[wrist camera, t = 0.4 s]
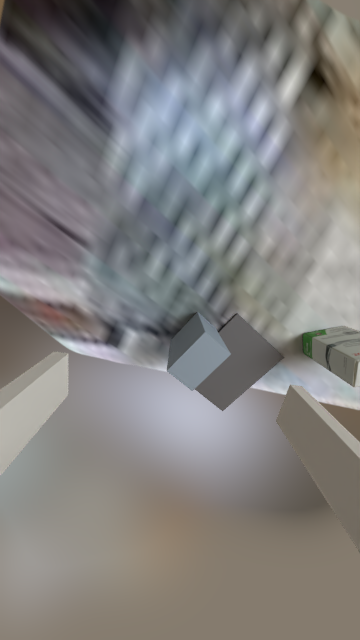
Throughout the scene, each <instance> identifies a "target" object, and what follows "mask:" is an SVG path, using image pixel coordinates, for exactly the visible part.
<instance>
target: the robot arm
mask: <svg viewBox="0 0 360 640" xmlns="http://www.w3.org/2000/svg"><path fill="white" fill-rule="evenodd" d="M67 395H68V353H62V352H53V353H51V354H50V355H49V356H47V357H46V358H44V359H43V360H42V361H40V362H39V363H38V364H36V365H35V366H33V367H32V368H31V369H29V370H28V371H26V372H25V373H23V374H22V375H20V376H19V377H18V378H16V379H15V380H13V381H12V382H11V383H9V384H8V385H6V386H5V387H3V388H2V389H1V390H0V476H1V474H2V473H3V472H4V471H5V470H6V468H7V467H8V466H9V465H10V464H11V462H12V461H13V460H14V459H15V458H16V456H17V455H18V454H19V453H20V452H21V450H22V449H23V448H24V447H25V446H26V444H27V443H28V442H29V441H30V440H31V439H32V437H33V436H34V435H35V434H36V433H37V431H38V430H39V429H40V428H41V427H42V425H43V424H44V423H45V422H46V421H47V419H48V418H49V417H50V416H51V415H52V413H53V412H54V411H55V410H56V409H57V407H58V406H59V405H60V404H61V403H62V401H63V400H64V399H65V398H66V397H67ZM276 422H277V423H278V425H279V426H280V428H281V429H282V431H283V433H284V434H285V436H286V437H287V439H288V440H289V442H290V444H291V445H292V447H293V448H294V450H295V452H296V453H297V455H298V456H299V458H300V460H301V461H302V462H303V464H304V466H305V467H306V469H307V471H308V472H309V474H310V475H311V477H312V478H313V480H314V481H315V483H316V485H317V486H318V488H319V489H320V491H321V493H322V494H323V496H324V497H325V499H326V500H327V502H328V504H329V505H330V507H331V508H332V510H333V511H334V513H335V514H336V516H337V518H338V519H339V521H340V522H341V524H342V526H343V527H344V529H345V530H346V532H347V533H348V535H349V537H350V538H351V540H352V541H353V543H354V544H355V546H356V548H357V549H358V551H359V552H360V442H359V441H358V440H357V439H355V437H354V436H353V435H352V434H350V433H349V432H348V431H347V430H346V429H345V428H344V427H343V426H342V425H341V424H340V423H339V422H338V421H337V420H336V419H335V418H334V417H333V416H332V415H331V414H330V413H329V412H328V411H327V410H326V409H325V408H324V407H323V406H322V405H320V403H319V402H318V401H317V400H316V399H314V398H313V397H312V396H311V395H310V394H309V393H308V392H307V391H306V390H305V389H304V388H303V387H302V386H295V385H290V386H289V389H288V391H287V394H286V397H285V399H284V402H283V404H282V407H281V409H280V412H279V415H278V417H277V420H276Z"/></svg>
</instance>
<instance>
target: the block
mask: <svg viewBox="0 0 360 640" xmlns="http://www.w3.org/2000/svg"><path fill="white" fill-rule="evenodd" d="M230 355H231V353H230V352H229V350H228V348H227V347H226V345H225V343H224V342H223V340H222V338H221V336H220V335H219V333H218V331H217V330H216V328H215V327H214V326H213V325H212V324H210V323H209V322H208V321H207V320H206V319H205V318H204V317H203V316H201V315H200V314H199V313H198V312H197V313H196V314H195V315H194V316H193V317H192V318H191V319H190V320H189V321H188V322H187V323H186V325H185V326H184V327H183V328H182V329H181V330H180V331H179V332H178V333H177V334H176V335H175V336H174V337H173V338H172V339H171V343H170V350H169V358H168V366H167V372H169V373H170V374H171V375H173V376H174V377H175V378H176V379H178V380H179V381H180V382H181V383H183V384H184V385H186V386H187V387H188V388H189V389H190V390H194V389H195V388H196V387H197V386H198V385H199V384H200V383H201V382H202V381H203V380H204V379H206V378H207V377H208V376H209V375H210V374H211V373H212V372H213V371H214V370H215V369H216V368H217V367H218V366H219V365H220V364H221V363H222V362H223V361H225V360H226V359H227V358H228V357H229V356H230Z"/></svg>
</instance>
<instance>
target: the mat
mask: <svg viewBox="0 0 360 640" xmlns="http://www.w3.org/2000/svg"><path fill="white" fill-rule="evenodd" d="M218 333H219V335H220V336H221V338H222V340H223V342H224V343H225V345H226V347H227V348H228V350H229V352H230V353H231V355H230V356H229V357H228V358H227V359H226V360H225V361H223V362H222V363H221V364H220V365H219V366H218V367H217V368H216V369H215V370H214V371H213V372H212V373H211V374H210V375H209V376H208V377H207V378H206V379H204V380H203V381H202V382H201V383H200V384H199V385H198V386H197V387H196V388H195V390H197V391H198V392H199V393H200V394H202V395H203V396H204V397H205V398H207V399H208V400H209V401H211V402H212V403H213V404H214V405H216V406H217V407H218V408H219V409H221V410H222V411H223V410H224V409H226V408H227V407H228V406H229V405H230V404H231V403H232V402H234V401H235V400H236V399H237V398H238V397H239V396H240V395H242V394H243V393H244V392H245V391H246V390H247V389H248V388H250V387H251V386H252V385H253V384H254V383H255V382H256V381H258V380H259V379H260V378H261V377H262V376H263V375H264V374H266V373H267V372H268V371H269V370H270V369H271V368H272V367H274V366H275V365H276V364H277V363H278V362H279V361H280V360H282V359H283V358H284V357H283V356H282V355H281V354H280V353H279V352H278V351H277V350H276V349H275V348H274V347H273V346H271V345H270V344H269V343H268V342H267V341H266V340H265V339H264V338H263V337H262V336H261V335H260V334H259V333H258V332H257V331H255V330H254V329H253V328H252V327H251V326H250V325H249V324H248V323H247V322H246V321H245V320H244V319H243V318H242V317H240V316H239V315H238V314H236V315H235V316H234V317H233V318H232V319H231V320H230V321H229V322H228V323H227V324H226V325H225V326H224V327H223V328H222V329H221V330H220V331H219V332H218Z"/></svg>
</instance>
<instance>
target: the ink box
mask: <svg viewBox="0 0 360 640" xmlns="http://www.w3.org/2000/svg"><path fill="white" fill-rule="evenodd" d="M303 351H304V354H305V355H307V356H308V357H310V358H311V359H313V360H314V361H316V362H317V363H319V364H320V365H322V366H323V367H325V368H326V369H328V370H329V371H331V372H332V373H334V374H335V375H337V376H338V377H340V378H341V379H343V380H344V381H345V382H347V383H348V384H350V385H351V386H353V387H359V386H360V331H357V330H354V329H352V328H349V327H346V326H342V327H336V328H331V329H325V330H319V331H314V332H308V333H304V334H303Z"/></svg>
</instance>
